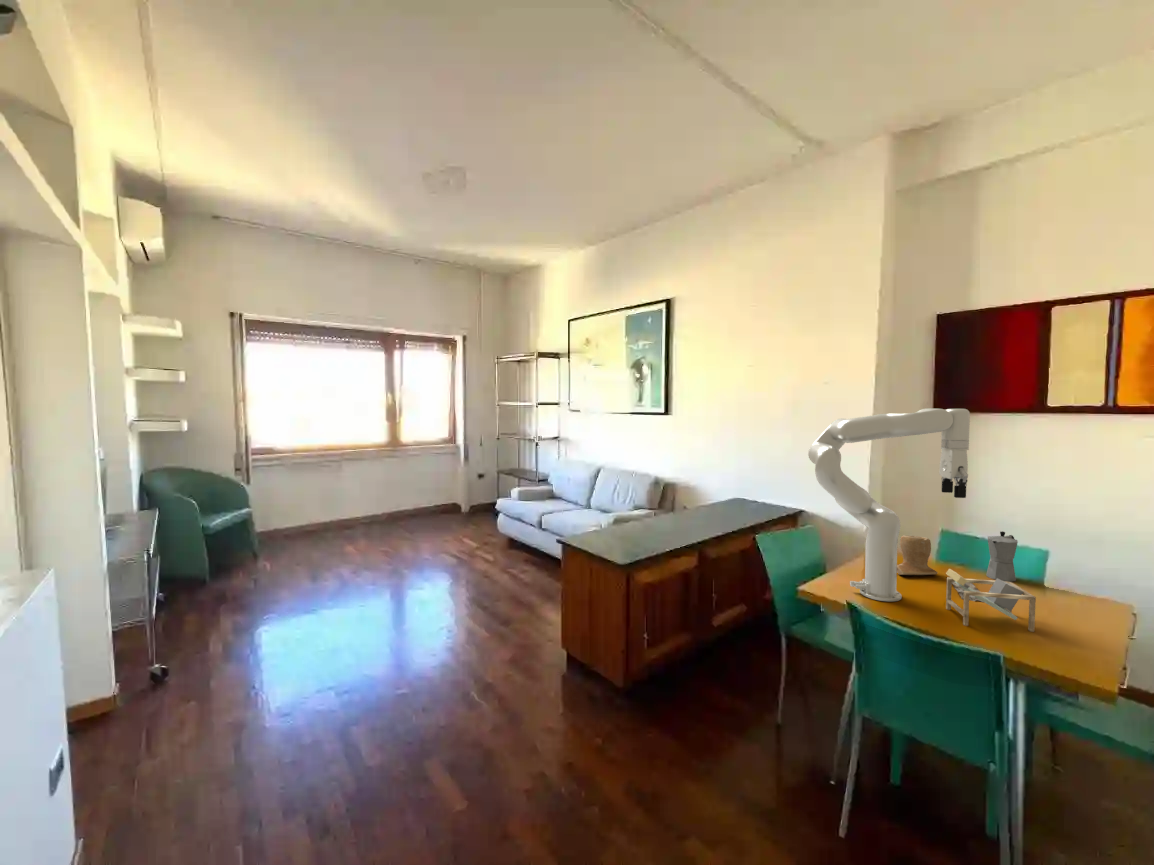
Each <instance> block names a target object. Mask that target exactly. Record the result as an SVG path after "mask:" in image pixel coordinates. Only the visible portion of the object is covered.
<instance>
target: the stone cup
mask: <svg viewBox="0 0 1154 865" xmlns="http://www.w3.org/2000/svg"><path fill="white" fill-rule="evenodd" d="M899 541H900V542H899V545H900V546H899V547H900V550H901V554H902V559H903V560H902V563H900V564H897V573H898V574H897V575H901V576H930V575H931V576H933V575H937V574H939V573H938V571H937V570H935V569H933V568H931V567H930V566H929V565H928V562H929V558H930V556H931V552H932V544H931V543H932V542H931V540H930V538H928V537H924V536H918V535H901V537H900V540H899Z"/></svg>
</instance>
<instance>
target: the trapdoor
mask: <svg viewBox="0 0 1154 865" xmlns="http://www.w3.org/2000/svg"><path fill="white" fill-rule="evenodd" d="M945 574H946V575H947V577H949V578H952V579H953V580H955V583H956V584H957V585H959V586H960V587H961V588H963V589H964V590H965V591H974V592H977V591H975V590H974V589H972V588H970V586H968V585H967V584H966V582H967V580H966V579H967V578H964V576H962V575H960V574H959V573H958V572H956V571H955V570H953V569H951V568H948V570H947V571H946V572H945ZM974 597H976V598H978V599H979V600H981V601H980V602H982V601H983V602H982V603H985V604H986V605H988V606H989V607H991V608H993V609H995V610H997V611H999V612H1001V613H1002V614H1004V615H1006V616H1007V617H1010V618H1011V619H1013V620H1014V621H1017V619H1018V616H1016V615H1015V614H1013V612H1012V613H1011V612H1009V611H1008V610H1007V609H1005V608H1003V607H1001V606H999V605H997V604H995V603H993V602H992V601H990V600H989V599H988V598H986V597H983V596H974Z"/></svg>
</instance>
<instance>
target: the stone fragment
mask: <svg viewBox="0 0 1154 865" xmlns="http://www.w3.org/2000/svg"><path fill="white" fill-rule="evenodd" d="M966 584H967V585H968V586H970V588H972V589H974V590H975V591H977V592H981V591H980V589H978V588H977V586H976V585H974V583H966ZM952 585H953V588H954V589H955V590H956V591H957V593H958V594H959V596H960V597H961V600H964V591H965V590H964V589H963V588H961V587H960V586H959V585H957V584H956V583H955V582H952ZM969 601H970V602H971V601H972V602H976V601H978V602H982V603H984V602H983V601H981V600H979V599H978V598H976V597H974V596H970V595H969Z"/></svg>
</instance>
